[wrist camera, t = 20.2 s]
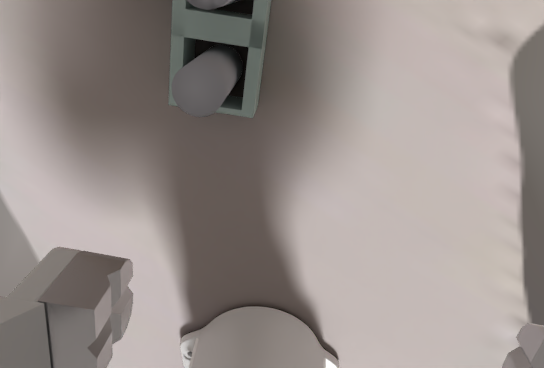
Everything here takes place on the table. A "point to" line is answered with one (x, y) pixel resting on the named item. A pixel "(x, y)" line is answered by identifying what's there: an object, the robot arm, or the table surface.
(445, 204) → the table surface
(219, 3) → the grey metal cylinder
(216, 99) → the rack
